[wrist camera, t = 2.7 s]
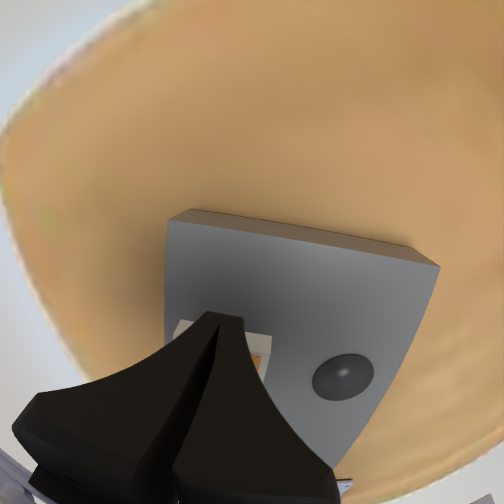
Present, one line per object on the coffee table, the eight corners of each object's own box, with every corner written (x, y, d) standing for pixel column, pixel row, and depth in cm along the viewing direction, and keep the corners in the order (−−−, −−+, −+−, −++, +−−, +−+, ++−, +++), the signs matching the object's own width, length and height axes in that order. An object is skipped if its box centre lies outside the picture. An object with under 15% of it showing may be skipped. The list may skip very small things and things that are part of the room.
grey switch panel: (310, 469, 20) (311, 495, 17) (183, 452, 20) (175, 478, 17) (413, 248, 13) (442, 268, 10) (189, 209, 14) (166, 220, 11)
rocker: (251, 414, 13) (249, 431, 12) (184, 401, 13) (179, 417, 12) (271, 335, 10) (270, 355, 9) (181, 319, 11) (171, 337, 10)
